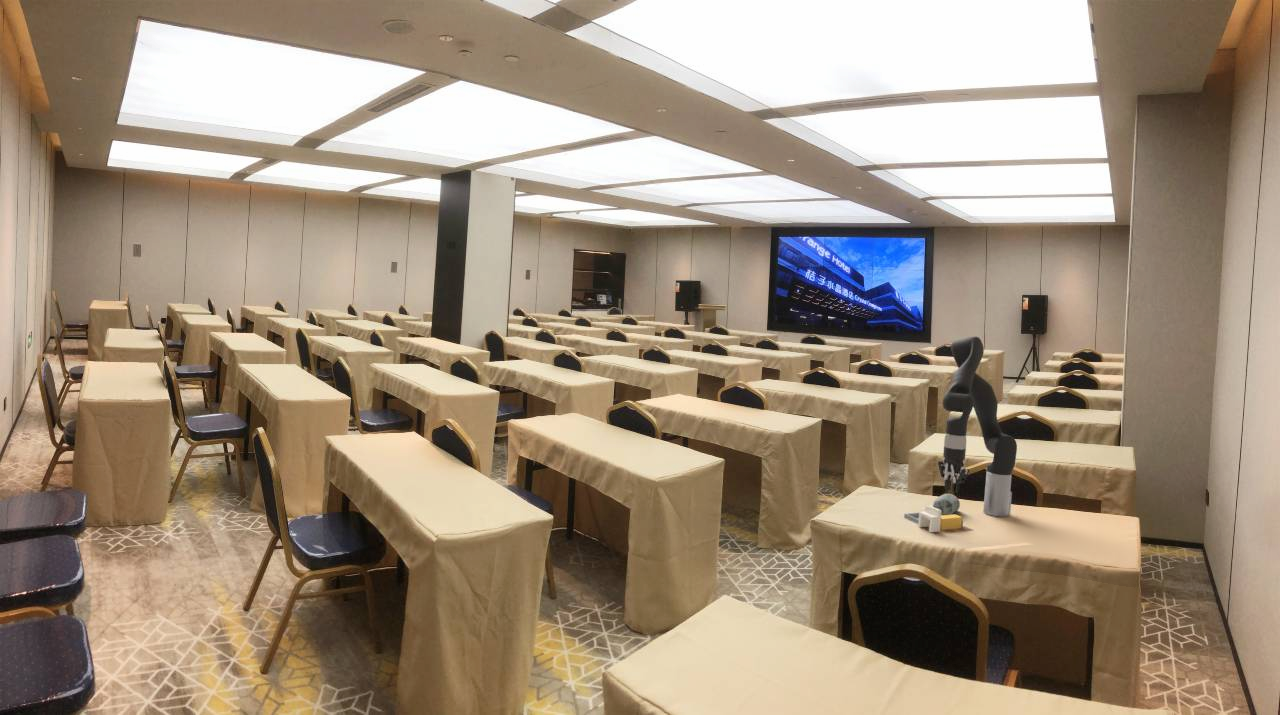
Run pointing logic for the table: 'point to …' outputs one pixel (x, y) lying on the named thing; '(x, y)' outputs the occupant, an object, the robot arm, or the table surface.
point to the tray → (913, 517)
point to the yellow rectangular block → (950, 522)
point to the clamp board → (949, 529)
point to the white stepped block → (930, 514)
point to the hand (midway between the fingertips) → (951, 491)
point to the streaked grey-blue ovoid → (947, 504)
